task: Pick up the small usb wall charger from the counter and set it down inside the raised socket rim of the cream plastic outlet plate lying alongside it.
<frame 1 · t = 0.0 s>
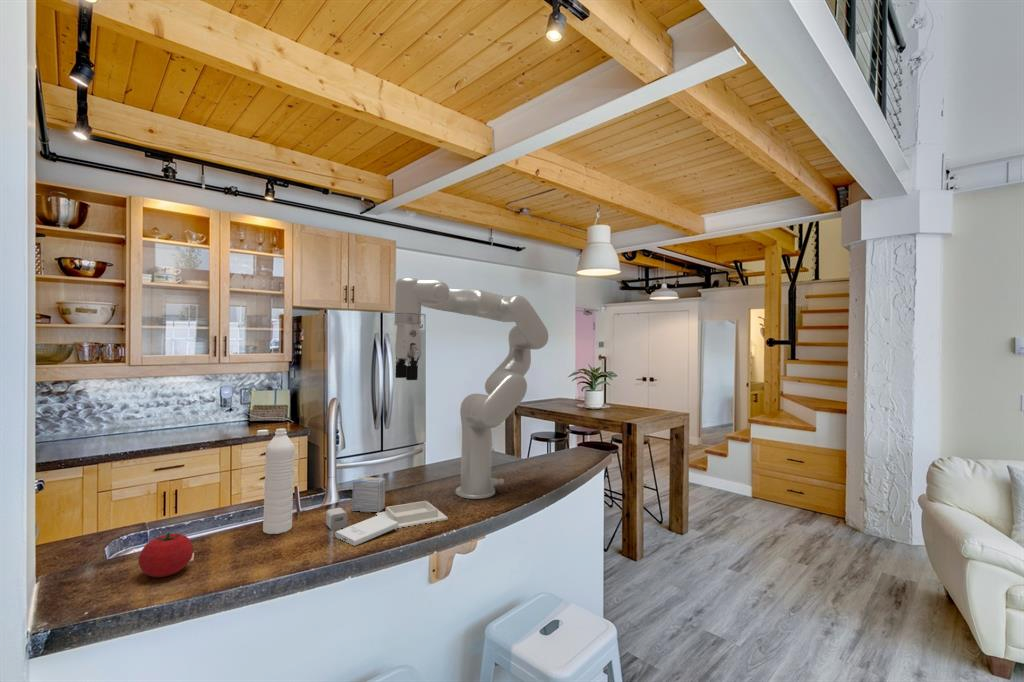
hand: (406, 378, 137), 37 cm above the counter, tool pointing down, fingers open, 9 cm apart
medicine box: (368, 510, 131), on the counter
usb wall charger: (334, 525, 120), on the counter
external hard drive: (367, 533, 114), on the counter, touching outlet plate
water bottle: (272, 531, 115), on the counter
outlet plate: (411, 517, 126), on the counter
tomato: (165, 574, 93), on the counter
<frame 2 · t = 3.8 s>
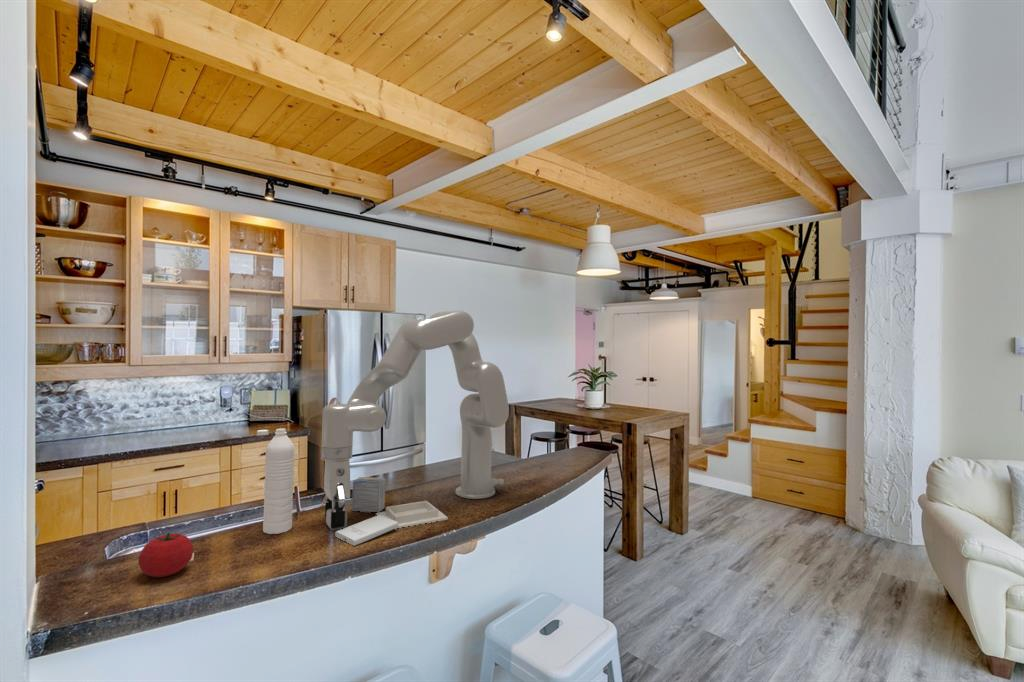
hand: (334, 521, 120), 1 cm above the counter, tool pointing down, fingers closed on usb wall charger, 7 cm apart
usb wall charger: (334, 525, 120), on the counter, touching gripper
everything else where it was.
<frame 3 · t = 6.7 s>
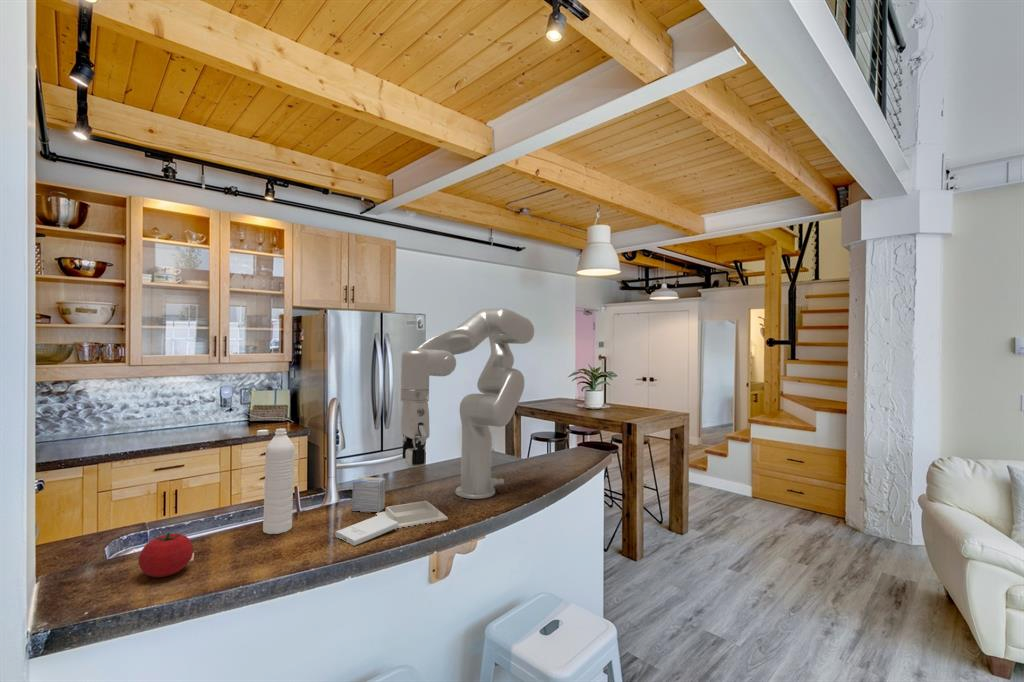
hand: (413, 460, 127), 15 cm above the counter, tool pointing down, fingers closed on usb wall charger, 7 cm apart
usb wall charger: (413, 464, 127), point 14 cm above the counter, touching gripper
everything else where it was.
when the fingers open (3 cm above the counter, at t = 9.4 s): usb wall charger drops 2 cm, resting on outlet plate.
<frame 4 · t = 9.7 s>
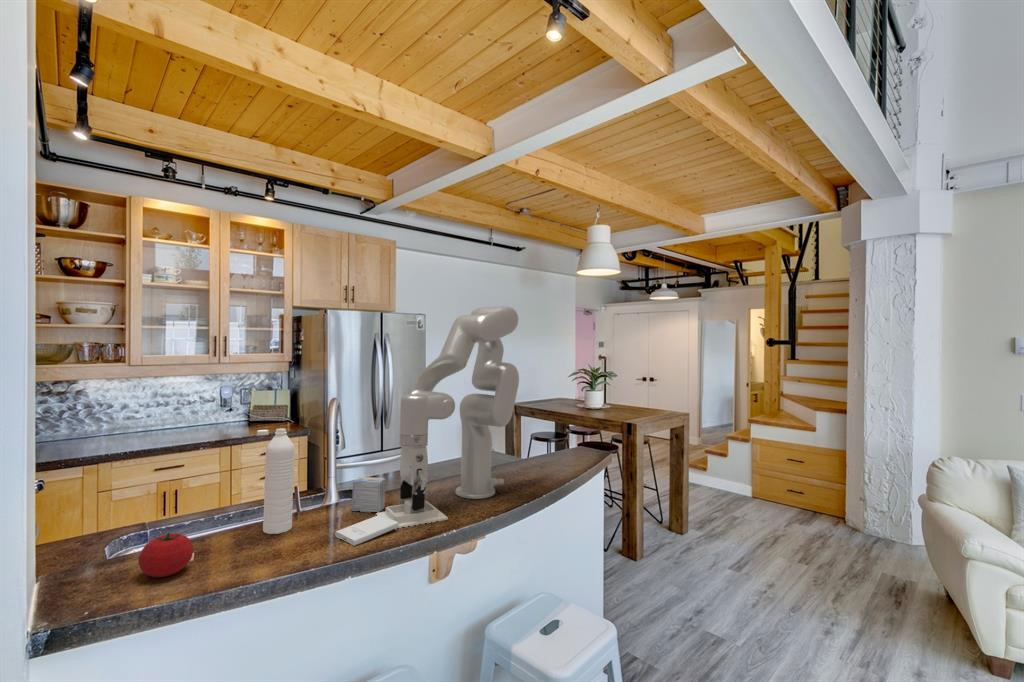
hand: (411, 503, 126), 4 cm above the counter, tool pointing down, fingers open, 9 cm apart
usb wall charger: (412, 515, 126), resting on outlet plate
everything else where it was.
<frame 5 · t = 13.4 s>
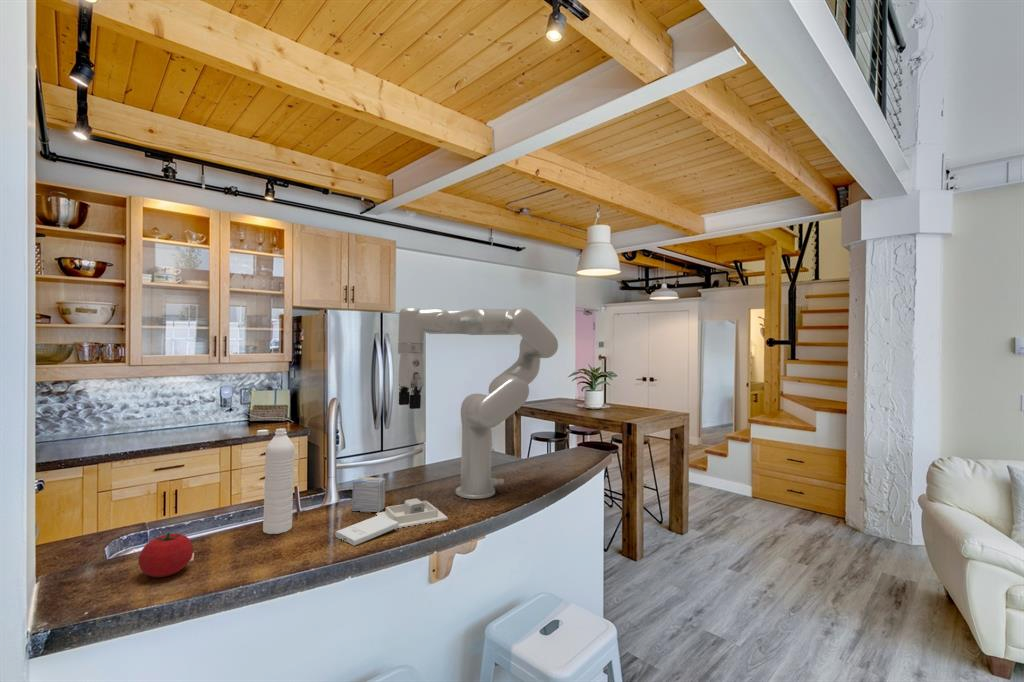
hand: (409, 406, 139), 28 cm above the counter, tool pointing down, fingers open, 9 cm apart
nothing on the counter moved.
at the end: usb wall charger inside the target area on the outlet plate (0.2 cm from its centre), point 0.4 cm above the outlet plate's base; usb wall charger touching outlet plate; the gripper is holding nothing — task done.
